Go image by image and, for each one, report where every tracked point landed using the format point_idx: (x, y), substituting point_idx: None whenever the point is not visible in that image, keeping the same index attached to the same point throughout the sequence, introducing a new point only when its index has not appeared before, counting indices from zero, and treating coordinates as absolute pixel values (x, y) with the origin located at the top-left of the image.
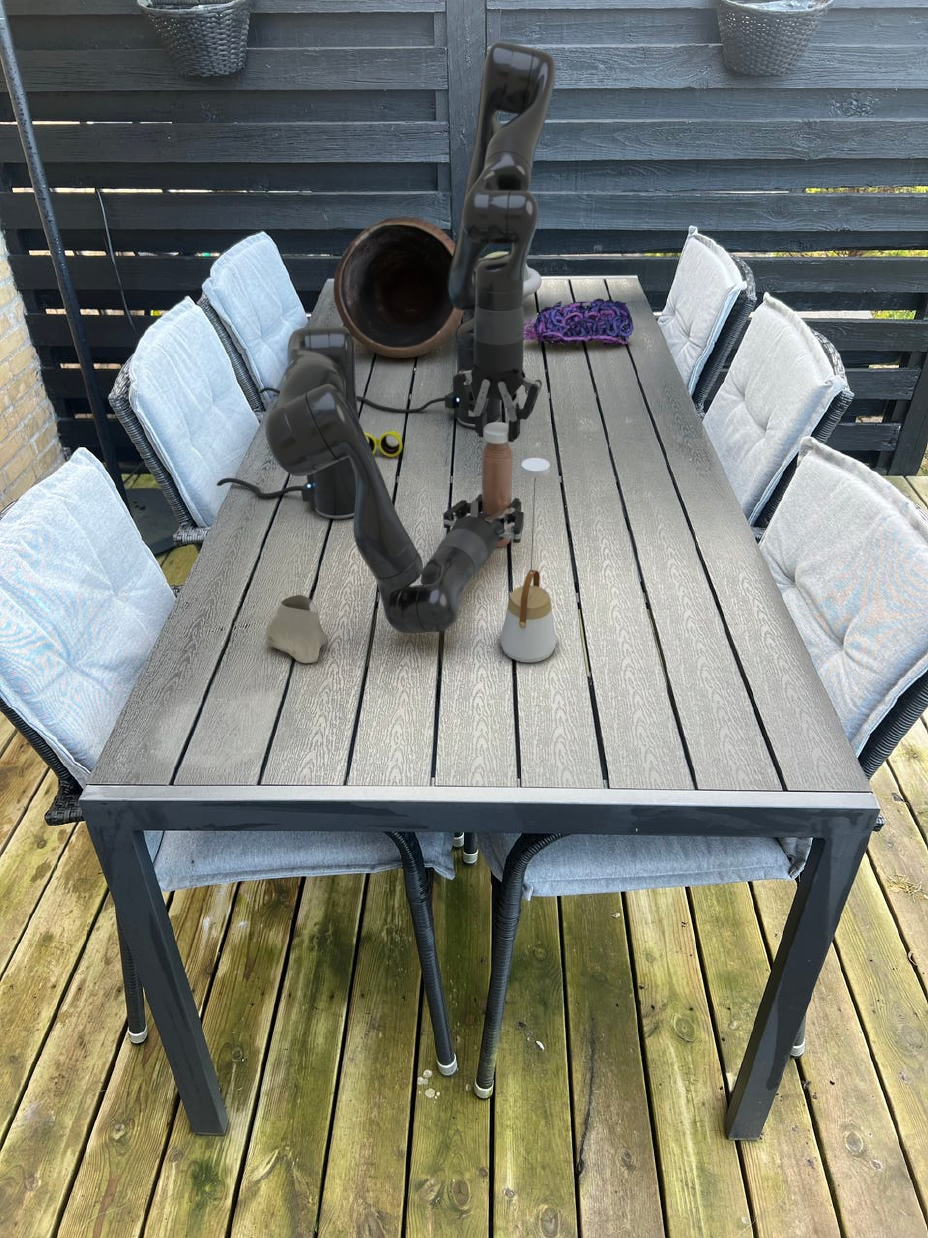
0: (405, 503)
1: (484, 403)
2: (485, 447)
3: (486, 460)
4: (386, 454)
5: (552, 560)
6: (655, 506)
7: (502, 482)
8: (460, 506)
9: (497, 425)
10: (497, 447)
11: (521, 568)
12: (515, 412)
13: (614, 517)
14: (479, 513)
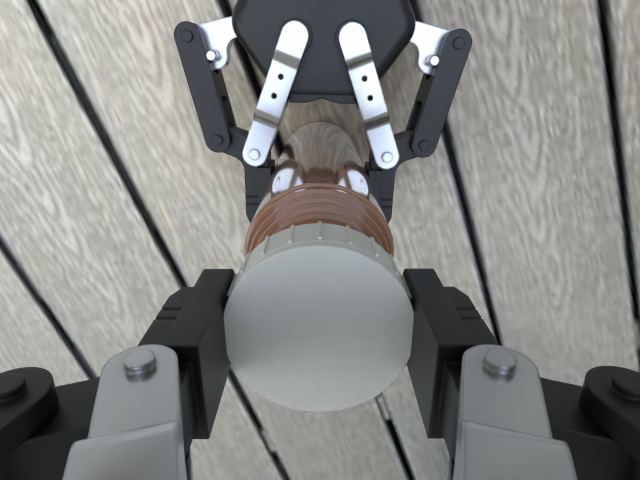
0: (595, 242)
1: (456, 450)
2: None
3: (352, 189)
4: None
5: (149, 116)
6: None
7: (278, 173)
8: (425, 112)
9: (334, 370)
10: None
11: None
12: (94, 408)
13: (96, 340)
14: (348, 94)
